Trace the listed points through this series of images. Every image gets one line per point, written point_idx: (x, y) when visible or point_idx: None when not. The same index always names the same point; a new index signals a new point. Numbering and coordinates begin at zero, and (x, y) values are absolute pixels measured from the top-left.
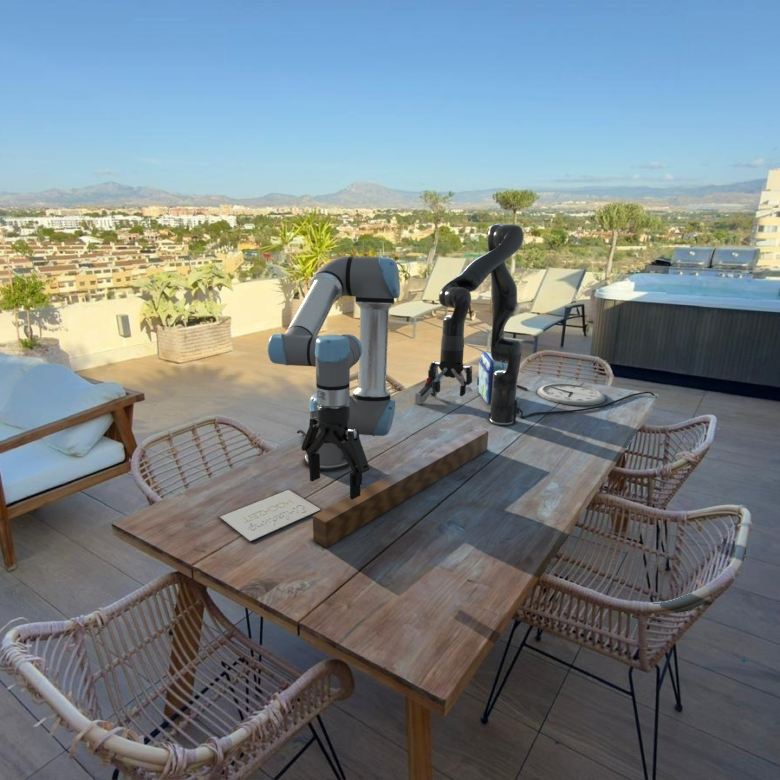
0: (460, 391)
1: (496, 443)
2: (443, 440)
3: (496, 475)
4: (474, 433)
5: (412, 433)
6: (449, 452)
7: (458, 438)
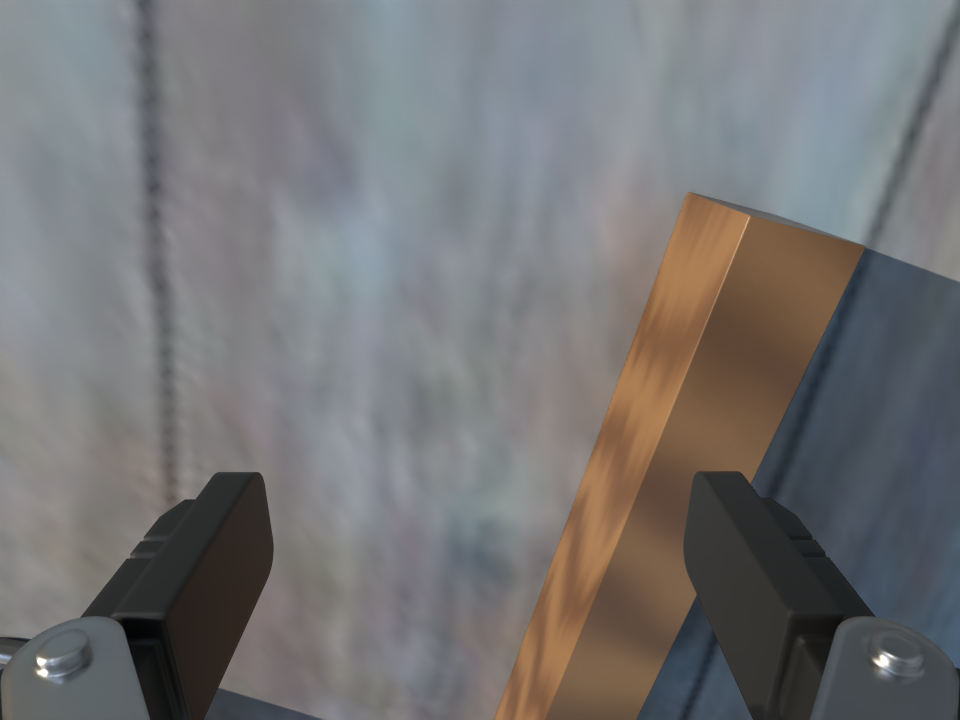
0: (722, 628)
1: (845, 35)
2: (421, 191)
3: (862, 532)
4: (744, 355)
5: (139, 169)
6: (635, 711)
7: (636, 504)
